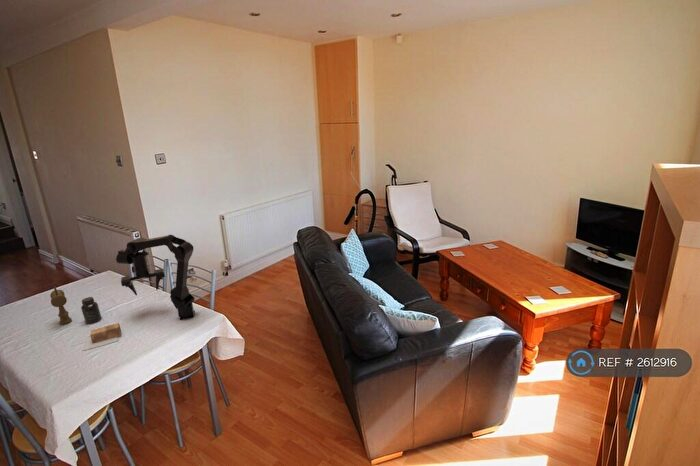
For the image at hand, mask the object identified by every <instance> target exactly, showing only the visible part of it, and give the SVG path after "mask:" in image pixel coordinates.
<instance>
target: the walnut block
mask: <svg viewBox="0 0 700 466" xmlns="http://www.w3.org/2000/svg"><path fill="white" fill-rule="evenodd" d="M121 328H122V327H121V325H120V322H117V323H113V324H108V325H106V326H102V327H97V328H93V329H91V330H90V335H89V336H90V337H91V340H92V342H93V343H97V342H100V341H104V340H107V339H111V338H115V337H118V338H119V337H121V336H122V329H121Z"/></svg>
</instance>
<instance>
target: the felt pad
mask: <svg viewBox="0 0 700 466" xmlns="http://www.w3.org/2000/svg"><path fill="white" fill-rule="evenodd" d="M117 342H119V336H118V337H115V338H111V339H107V340H104V341H100V342H97V343H93V342H92V340H91V337H90V335H88V336H85V339H84V344H83V345H84V346H83V350H82V351H83V352H85V351H88V350H89V351H90V350H92V349H96V348H99V347H103V346H105V345H106V346H107V345H110V344H114V343H117Z"/></svg>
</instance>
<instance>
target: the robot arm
mask: <svg viewBox="0 0 700 466" xmlns="http://www.w3.org/2000/svg"><path fill="white" fill-rule="evenodd" d="M176 245H177V246H176ZM162 246H166V247H167V248H168V250H169V251H170V252H171V253H172V254H174V258H175V260H176V262H177V264H176V277H175V287H173V288H172V289H171V290H170V296H169V299H170V301H171V302H172V304H173V306H174V308H175V309H176V310H177V313H178V314H177V315H178V318H179V320H180V321H181V320H188V319H193V318H194V317H195V313H196V312H195V308H194V304H193V302H195V299H196V298H195V296H194V295H192V294H191V293H190V290H189V288H188V286H187V283H188V273H189V272H188V270H189V261H190V259H191V257H192V255H193V252H194V248H195V247H194V246H193V244H192V243H191V242H189V241H186V240H185V239H183V238H180V237H176V236H175V235H174V234H167V235H164V236H163V235H162V236H159V237H152V238H145V237H143V238H142V237H137V238H134V239H133V240H131V241H129V242H127V243H126V248H125V250H124V249H120V250H118V251H117V254H116V258H115V261H116V263H117V264H118V265H133V266H131V271H132V272H131V273H132V274H133V273H135V276H131V275H126V276H122V277H120V278H121V279H120V282H121V283H120V284H121V286H122V287H125V288H129V289H130V290H131V291H132V292H133V294H134V295H135V296H138V293H137V290H136V288H135V284H134V282H135V281H141V280H145V279H149V278H154V279H155V288H156V291H158V289H159V285H160V281H162V280H163V278H166V275H165V271H164V269H163V268H159V269H155V270H154V272H151V273H150V270H149V265H148V262H147V256H148V255H149V252H147V251H146V249H151V248H155V247H156V248H157V247H162Z"/></svg>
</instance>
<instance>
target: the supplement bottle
mask: <svg viewBox="0 0 700 466" xmlns="http://www.w3.org/2000/svg"><path fill="white" fill-rule="evenodd" d="M81 304H82V305H81V307H80V309H81V312H82V316H83V318H84V319H83V320H84V322H85V323H86V324H88V325H90V324H95V323H98V322H100V321H101V319H102V315H101V311H100V307H99V304H98V303H97V301H95V299H94V297H93V296H88V297H85V298H83V299H81Z"/></svg>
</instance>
